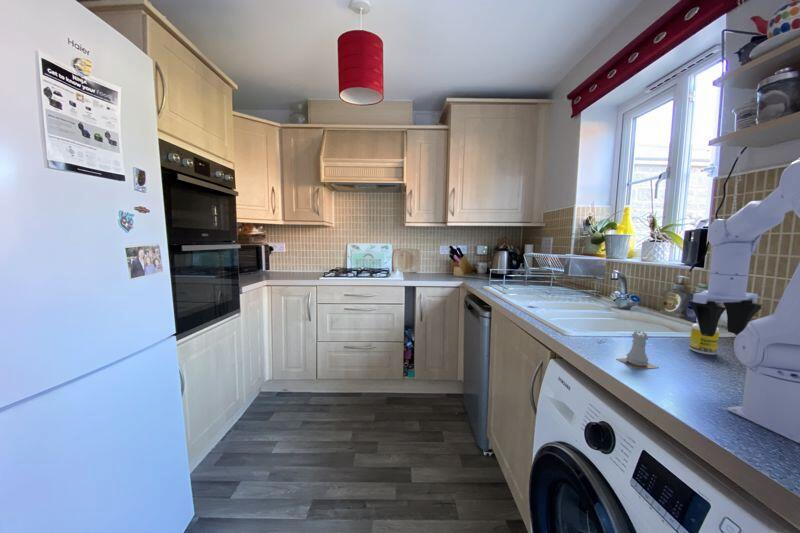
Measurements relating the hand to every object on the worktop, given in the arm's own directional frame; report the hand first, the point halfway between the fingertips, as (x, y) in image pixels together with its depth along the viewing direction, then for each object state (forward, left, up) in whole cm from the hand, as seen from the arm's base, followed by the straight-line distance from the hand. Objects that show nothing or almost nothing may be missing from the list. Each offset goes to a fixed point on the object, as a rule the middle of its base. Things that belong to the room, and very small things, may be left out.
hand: (721, 333), depth 66 cm
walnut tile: (+9, +11, -11) cm, 18 cm away
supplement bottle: (+14, -16, -11) cm, 24 cm away
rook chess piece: (+9, +11, -10) cm, 18 cm away
